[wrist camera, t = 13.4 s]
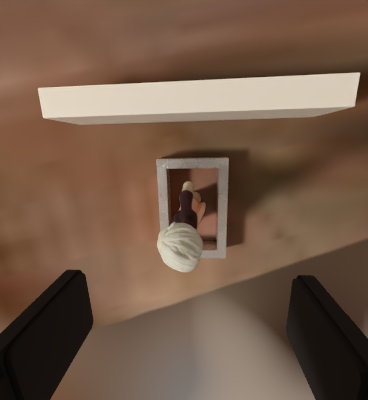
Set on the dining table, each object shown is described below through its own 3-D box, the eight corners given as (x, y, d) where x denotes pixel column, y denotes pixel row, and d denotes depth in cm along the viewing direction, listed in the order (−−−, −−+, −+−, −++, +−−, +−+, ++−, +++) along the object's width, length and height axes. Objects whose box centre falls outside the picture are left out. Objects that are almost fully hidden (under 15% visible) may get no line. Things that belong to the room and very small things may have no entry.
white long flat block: (316, 92, 21) (360, 72, 16) (313, 116, 22) (354, 106, 16) (77, 102, 23) (37, 87, 18) (80, 124, 24) (43, 118, 18)
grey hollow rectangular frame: (225, 156, 24) (228, 157, 21) (223, 248, 27) (225, 258, 24) (160, 158, 24) (156, 159, 22) (165, 247, 27) (162, 257, 25)
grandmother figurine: (207, 232, 26) (214, 307, 14) (177, 233, 27) (159, 308, 14) (203, 172, 24) (208, 198, 12) (171, 174, 25) (144, 202, 13)
